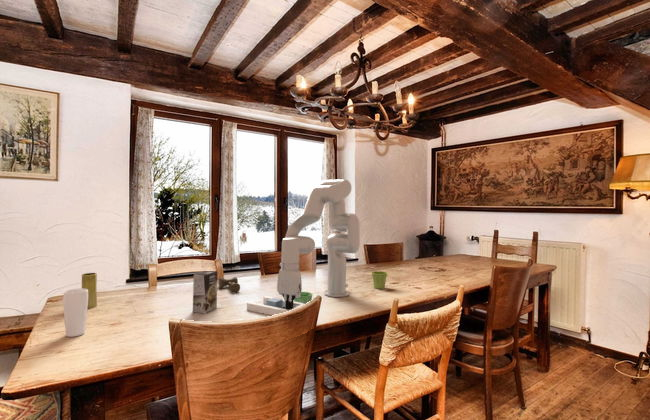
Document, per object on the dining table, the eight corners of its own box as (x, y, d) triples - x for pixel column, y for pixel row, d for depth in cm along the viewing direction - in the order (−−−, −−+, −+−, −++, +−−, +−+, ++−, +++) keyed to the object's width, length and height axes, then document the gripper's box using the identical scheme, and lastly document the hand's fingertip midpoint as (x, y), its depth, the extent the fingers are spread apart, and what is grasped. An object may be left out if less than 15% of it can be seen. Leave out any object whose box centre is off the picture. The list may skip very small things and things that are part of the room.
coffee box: (206, 313, 136) (206, 274, 136) (192, 312, 137) (192, 274, 137) (217, 307, 145) (218, 270, 145) (204, 306, 146) (204, 270, 146)
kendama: (226, 295, 167) (216, 285, 184) (244, 293, 172) (233, 284, 189) (226, 283, 167) (216, 275, 184) (245, 281, 172) (233, 273, 189)
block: (273, 307, 146) (273, 297, 146) (282, 309, 144) (282, 299, 144) (266, 310, 142) (266, 300, 142) (275, 312, 139) (275, 302, 139)
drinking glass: (71, 330, 115) (72, 288, 115) (92, 330, 115) (92, 288, 115) (57, 338, 108) (58, 293, 108) (79, 338, 109) (80, 293, 108)
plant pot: (367, 288, 185) (368, 272, 185) (375, 285, 193) (375, 270, 193) (383, 290, 180) (383, 275, 180) (390, 287, 188) (390, 272, 188)
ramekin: (299, 307, 147) (299, 297, 147) (289, 302, 154) (289, 293, 154) (316, 304, 152) (316, 295, 152) (305, 299, 160) (305, 290, 160)
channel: (266, 302, 153) (266, 296, 153) (306, 310, 142) (306, 303, 142) (246, 309, 142) (246, 302, 142) (289, 319, 131) (289, 311, 131)
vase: (100, 305, 144) (101, 273, 144) (86, 309, 138) (87, 275, 138) (90, 303, 146) (91, 272, 146) (76, 307, 140) (76, 274, 140)
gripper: (270, 266, 139) (269, 309, 139) (300, 270, 132) (299, 315, 132) (281, 263, 146) (280, 304, 146) (309, 267, 138) (308, 310, 138)
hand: (289, 309), depth 139 cm, fingers closed
